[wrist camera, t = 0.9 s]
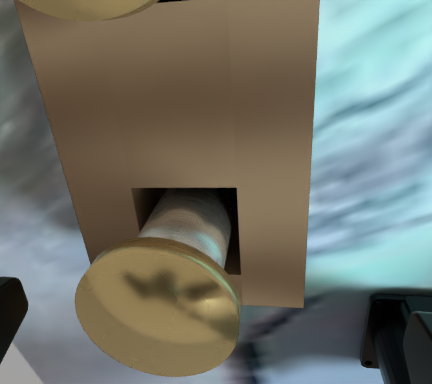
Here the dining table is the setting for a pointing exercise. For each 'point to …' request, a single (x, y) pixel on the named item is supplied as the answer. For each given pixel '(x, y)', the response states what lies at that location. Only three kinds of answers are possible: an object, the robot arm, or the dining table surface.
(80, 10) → the peg
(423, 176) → the dining table surface
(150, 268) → the peg
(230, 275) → the block
